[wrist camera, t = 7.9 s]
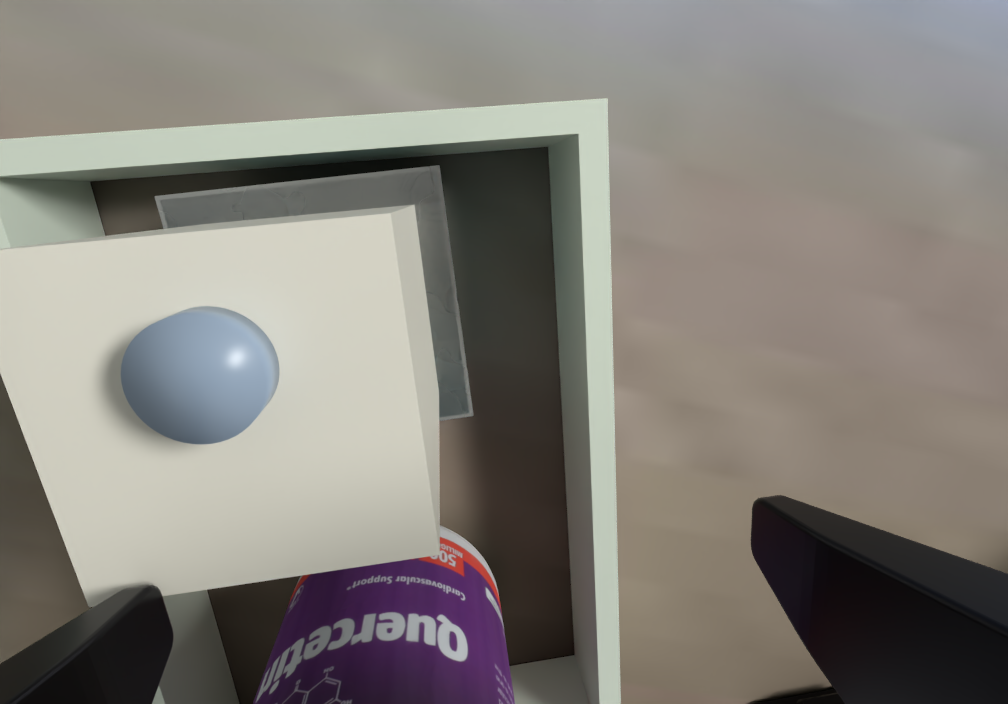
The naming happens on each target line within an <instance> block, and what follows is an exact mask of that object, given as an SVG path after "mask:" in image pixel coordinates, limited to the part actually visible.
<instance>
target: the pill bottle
mask: <svg viewBox="0 0 1008 704" xmlns="http://www.w3.org/2000/svg"><path fill="white" fill-rule="evenodd" d="M253 704H515V700H514V693H513V687H512V680H511V673H510V667H509V660H508V653H507V646H506V639H505V633H504V625H503V619H502V611H501V604H500V599H499V593H498V589H497V585H496V581H495V579H494V576H493V574H492V572H491V570H490V568H489V566H488V564H487V563H486V561H485V559H484V558H483V557H482V555H481V554H480V553H479V552H478V551H477V549H476V548H475V547H474V546H473V545H472V544H471V543H469V542H468V541H467V540H466V539H464V538H463V537H461V536H460V535H458V534H457V533H455V532H453V531H451V530H449V529H447V528H445V527H443V526H440V555H435V556H428V557H422V558H415V559H408V560H402V561H395V562H388V563H382V564H375V565H368V566H362V567H355V568H348V569H342V570H335V571H328V572H322V573H315V574H308V575H301V576H300V578H299V580H298V582H297V584H296V587H295V589H294V592H293V594H292V596H291V599H290V602H289V604H288V607H287V610H286V613H285V616H284V619H283V622H282V624H281V627H280V630H279V633H278V636H277V638H276V641H275V644H274V646H273V649H272V652H271V655H270V657H269V660H268V663H267V666H266V668H265V671H264V674H263V677H262V679H261V682H260V685H259V688H258V690H257V693H256V696H255V699H254V701H253Z"/></svg>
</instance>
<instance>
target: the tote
mask: <svg viewBox="0 0 1008 704" xmlns="http://www.w3.org/2000/svg"><path fill="white" fill-rule="evenodd" d="M538 147H548V155H549V174H550V193H551V213H552V232H553V251H554V270H555V289H556V308H557V327H558V346H559V366H560V385H561V404H562V423H563V442H564V461H565V480H566V499H567V518H568V538H569V557H570V576H571V595H572V614H573V633H574V652H575V655H572V656H566V657H560V658H554V659H548V660H542V661H537V662H531V663H525V664H519V665H513V666H509V667H510V673H511V680H512V687H513V693H514V700H515V704H621V694H620V649H619V603H618V558H617V513H616V467H615V422H614V377H613V331H612V286H611V241H610V195H609V150H608V105H607V98H605V99H591V100H576V101H561V102H546V103H532V104H517V105H502V106H487V107H473V108H458V109H443V110H428V111H414V112H399V113H384V114H369V115H355V116H340V117H325V118H310V119H296V120H281V121H266V122H251V123H236V124H222V125H207V126H192V127H177V128H163V129H148V130H133V131H118V132H104V133H89V134H74V135H59V136H45V137H30V138H15V139H0V249H1V248H10V247H18V246H26V245H35V244H43V243H51V242H60V241H68V240H76V239H84V238H93V237H101V236H105V233H104V229H103V226H102V222H101V219H100V215H99V212H98V208H97V205H96V201H95V198H94V194H93V191H92V187H91V184H90V181H103V180H116V179H129V178H142V177H155V176H169V175H182V174H195V173H208V172H221V171H235V170H248V169H261V168H274V167H287V166H301V165H314V164H327V163H340V162H353V161H367V160H380V159H393V158H406V157H419V156H433V155H446V154H459V153H472V152H485V151H499V150H512V149H525V148H538ZM163 599H164V603H165V606H166V609H167V612H168V616H169V619H170V622H171V625H172V629H173V636H174V637H173V646H172V650H171V653H170V656H169V658H168V661H167V664H166V667H165V669H164V672H163V675H162V678H161V680H160V683H159V686H158V689H157V691H156V694H155V697H154V700H153V703H152V704H240V703H239V700H238V696H237V693H236V689H235V686H234V682H233V679H232V675H231V672H230V668H229V665H228V661H227V658H226V654H225V651H224V647H223V644H222V641H221V637H220V634H219V630H218V627H217V623H216V620H215V616H214V613H213V609H212V606H211V602H210V599H209V595H208V592H207V590H201V591H195V592H188V593H181V594H175V595H168V596H163Z"/></svg>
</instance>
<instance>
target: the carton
mask: <svg viewBox="0 0 1008 704" xmlns="http://www.w3.org/2000/svg"><path fill="white" fill-rule="evenodd" d="M0 374H1V376H2V379H3V382H4V384H5V387H6V390H7V392H8V395H9V398H10V400H11V403H12V406H13V408H14V411H15V414H16V416H17V419H18V421H19V424H20V427H21V429H22V432H23V435H24V437H25V440H26V443H27V445H28V448H29V451H30V453H31V456H32V458H33V461H34V464H35V466H36V469H37V472H38V474H39V477H40V480H41V482H42V485H43V488H44V490H45V493H46V496H47V498H48V501H49V503H50V506H51V509H52V511H53V514H54V517H55V519H56V522H57V525H58V527H59V530H60V533H61V535H62V538H63V540H64V543H65V546H66V548H67V551H68V554H69V556H70V559H71V562H72V564H73V567H74V570H75V572H76V575H77V578H78V580H79V583H80V585H81V588H82V591H83V593H84V596H85V599H86V601H87V604H88V607H94V606H96V605H97V604H99V603H101V602H102V601H104V600H106V599H107V598H109V597H111V596H112V595H114V594H115V593H117V592H119V591H121V590H122V589H126V588H130V587H137V586H145V585H154V586H157V587H158V588H159V589H160V591H161V593H162V596H168V595H175V594H181V593H188V592H195V591H201V590H208V589H215V588H221V587H228V586H235V585H241V584H248V583H255V582H261V581H268V580H275V579H281V578H288V577H295V576H301V575H308V574H315V573H322V572H328V571H335V570H342V569H348V568H355V567H362V566H368V565H375V564H382V563H388V562H395V561H402V560H408V559H415V558H422V557H428V556H435V555H440V482H439V388H438V381H437V373H436V365H435V358H434V350H433V342H432V335H431V327H430V319H429V312H428V304H427V297H426V289H425V281H424V274H423V266H422V258H421V251H420V243H419V235H418V228H417V220H416V213H415V205H404V206H393V207H383V208H372V209H361V210H350V211H340V212H329V213H318V214H307V215H296V216H286V217H275V218H264V219H253V220H242V221H232V222H221V223H210V224H201V225H192V226H184V227H176V228H167V229H159V230H151V231H143V232H134V233H126V234H118V235H109V236H101V237H93V238H84V239H76V240H68V241H60V242H51V243H43V244H35V245H26V246H18V247H10V248H1V249H0Z"/></svg>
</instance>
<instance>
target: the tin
mask: <svg viewBox="0 0 1008 704" xmlns="http://www.w3.org/2000/svg"><path fill="white" fill-rule="evenodd" d="M154 197H155V200H156V204H157V207H158V211H159V214H160V218H161V221H162V225H163V228H164V229H167V228H176V227H184V226H192V225H201V224H210V223H221V222H232V221H242V220H253V219H264V218H275V217H286V216H296V215H307V214H318V213H329V212H340V211H350V210H361V209H372V208H383V207H393V206H404V205H415V213H416V220H417V228H418V235H419V243H420V251H421V258H422V266H423V274H424V281H425V289H426V297H427V304H428V312H429V319H430V327H431V335H432V342H433V350H434V358H435V365H436V373H437V381H438V388H439V421H443V420H449V419H456V418H463V417H469V416H473V408H472V401H471V394H470V386H469V379H468V371H467V364H466V357H465V349H464V342H463V335H462V327H461V320H460V313H459V305H458V298H457V290H456V283H455V276H454V268H453V261H452V254H451V246H450V239H449V231H448V224H447V217H446V209H445V202H444V195H443V187H442V180H441V173H440V165H436V166H427V167H418V168H409V169H399V170H390V171H381V172H372V173H363V174H353V175H344V176H335V177H326V178H317V179H307V180H298V181H289V182H280V183H271V184H261V185H252V186H243V187H234V188H225V189H215V190H206V191H197V192H188V193H179V194H169V195H160V196H154Z"/></svg>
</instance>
